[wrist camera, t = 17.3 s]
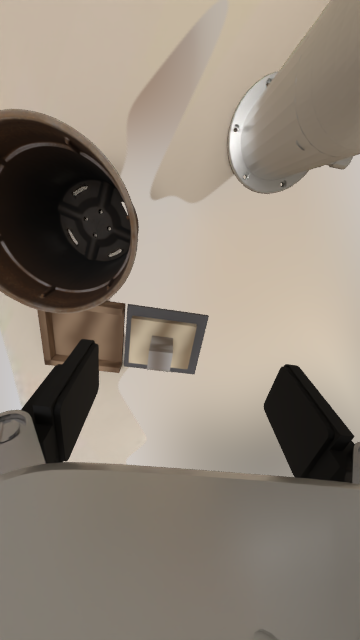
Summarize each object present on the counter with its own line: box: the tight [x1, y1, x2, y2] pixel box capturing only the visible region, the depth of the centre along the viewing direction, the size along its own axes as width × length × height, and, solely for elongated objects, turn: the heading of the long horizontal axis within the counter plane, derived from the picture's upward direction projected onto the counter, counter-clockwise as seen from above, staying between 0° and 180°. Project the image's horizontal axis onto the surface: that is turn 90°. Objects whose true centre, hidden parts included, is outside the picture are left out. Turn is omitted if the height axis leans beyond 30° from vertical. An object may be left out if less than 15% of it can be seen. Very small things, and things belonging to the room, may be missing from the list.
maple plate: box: [129, 316, 197, 372], centre depth 40 cm, size 12×10×6 cm
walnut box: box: [37, 301, 125, 373], centre depth 41 cm, size 14×14×3 cm
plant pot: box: [0, 109, 138, 313], centre depth 26 cm, size 16×16×16 cm
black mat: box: [124, 304, 209, 374], centre depth 43 cm, size 15×14×1 cm
